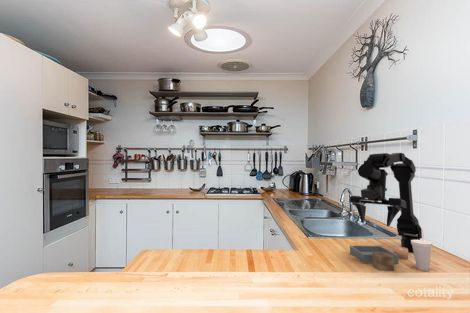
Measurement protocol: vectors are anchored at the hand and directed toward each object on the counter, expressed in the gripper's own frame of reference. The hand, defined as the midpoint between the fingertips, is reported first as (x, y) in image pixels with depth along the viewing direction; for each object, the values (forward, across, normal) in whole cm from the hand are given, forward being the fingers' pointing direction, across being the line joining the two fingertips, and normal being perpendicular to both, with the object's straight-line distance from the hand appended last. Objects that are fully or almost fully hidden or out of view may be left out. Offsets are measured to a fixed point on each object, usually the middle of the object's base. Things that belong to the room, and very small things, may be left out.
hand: (374, 224), depth 95 cm
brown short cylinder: (+10, +1, +22) cm, 25 cm away
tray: (+13, -6, +13) cm, 19 cm away
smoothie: (+12, +11, +14) cm, 22 cm away
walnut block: (+15, +2, +4) cm, 16 cm away
